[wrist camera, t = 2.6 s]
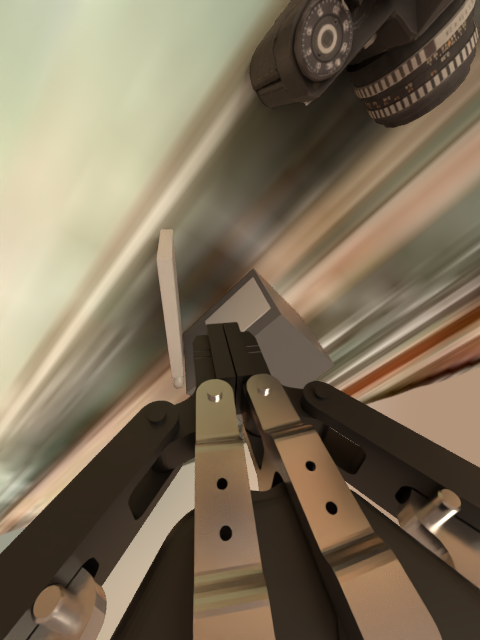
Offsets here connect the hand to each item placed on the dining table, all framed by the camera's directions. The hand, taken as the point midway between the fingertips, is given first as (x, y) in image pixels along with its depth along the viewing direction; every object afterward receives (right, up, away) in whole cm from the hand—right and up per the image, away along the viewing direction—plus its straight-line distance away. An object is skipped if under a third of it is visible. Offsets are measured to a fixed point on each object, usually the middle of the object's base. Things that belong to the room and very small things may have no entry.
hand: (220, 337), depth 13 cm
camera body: (+1, 0, +19) cm, 19 cm away
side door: (-6, +4, +14) cm, 16 cm away
